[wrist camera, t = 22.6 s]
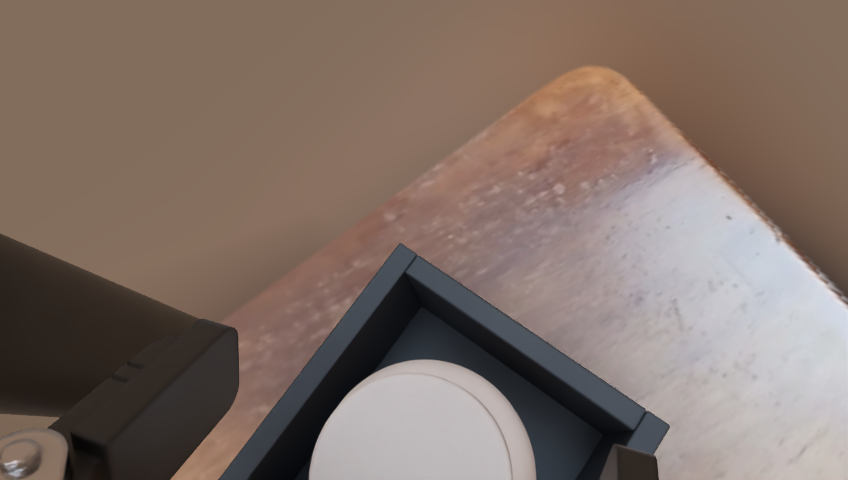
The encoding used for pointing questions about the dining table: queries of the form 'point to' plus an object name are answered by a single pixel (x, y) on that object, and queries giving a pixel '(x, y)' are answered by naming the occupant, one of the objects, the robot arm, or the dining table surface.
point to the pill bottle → (423, 429)
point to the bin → (459, 344)
